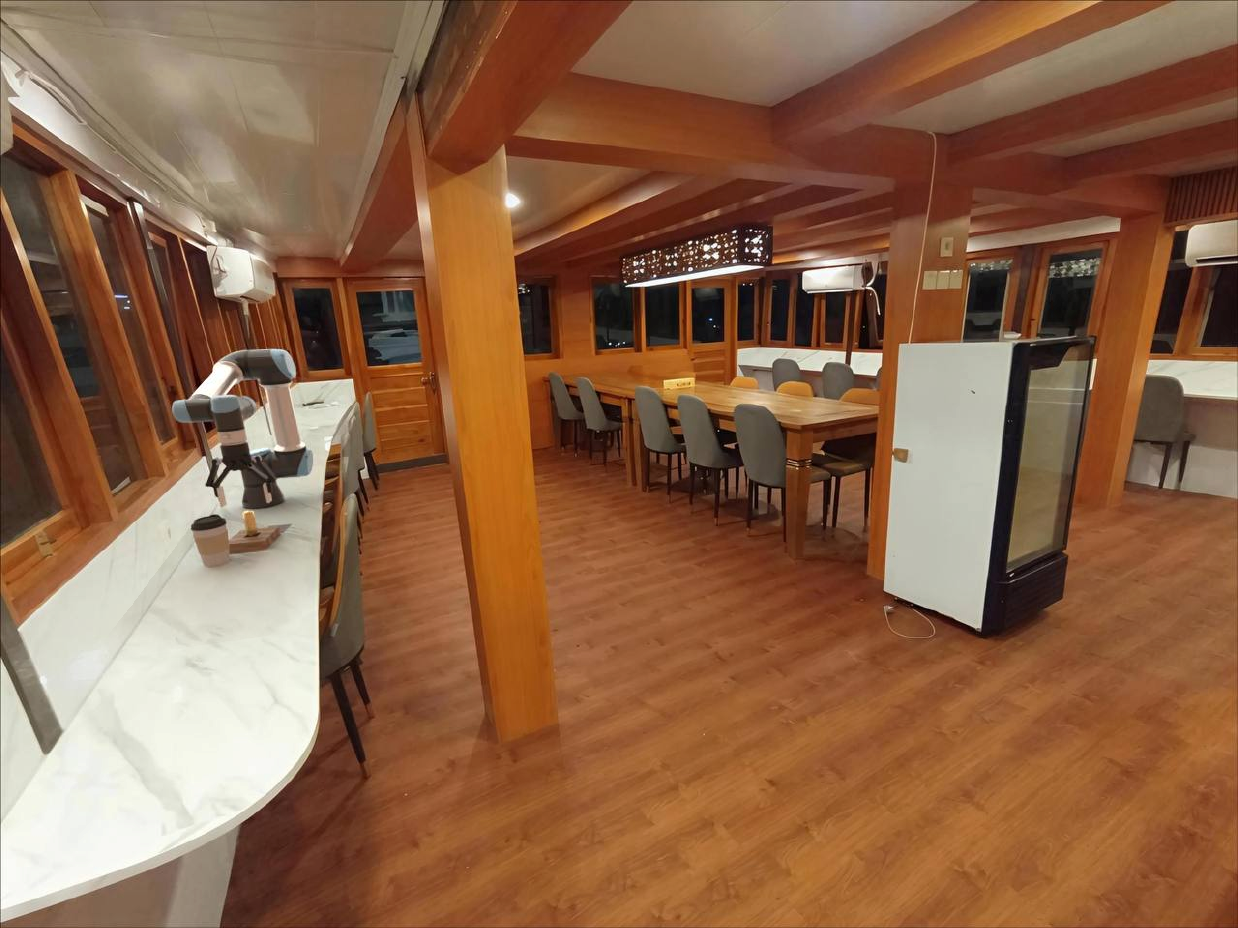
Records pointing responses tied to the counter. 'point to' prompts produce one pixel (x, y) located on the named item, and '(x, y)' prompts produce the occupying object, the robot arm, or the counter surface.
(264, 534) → the hole block
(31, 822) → the counter surface
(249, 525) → the peg
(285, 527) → the mat
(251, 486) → the robot arm
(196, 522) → the coffee cup
